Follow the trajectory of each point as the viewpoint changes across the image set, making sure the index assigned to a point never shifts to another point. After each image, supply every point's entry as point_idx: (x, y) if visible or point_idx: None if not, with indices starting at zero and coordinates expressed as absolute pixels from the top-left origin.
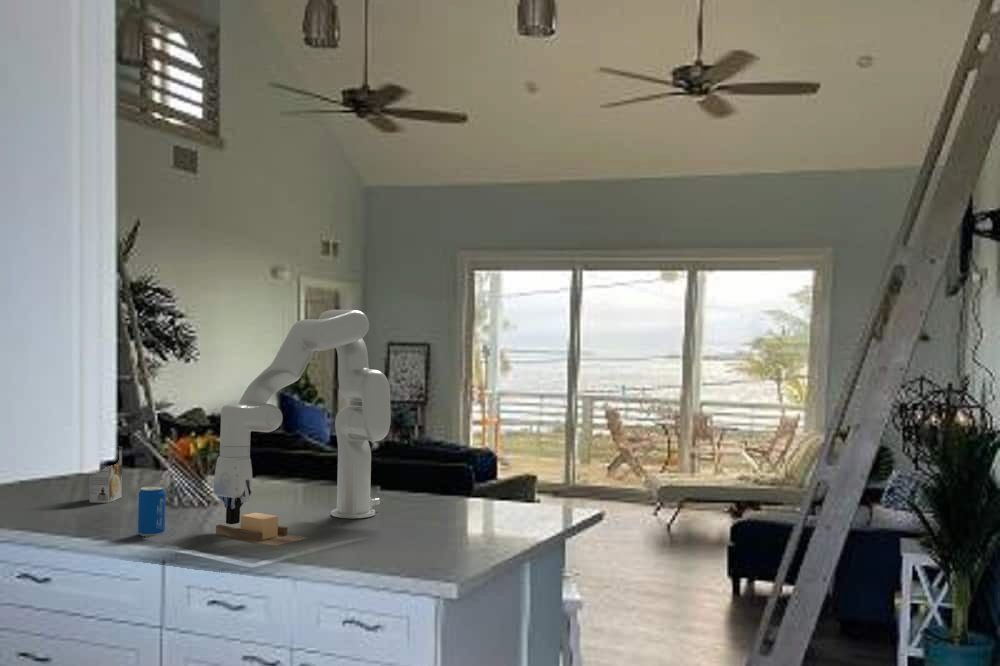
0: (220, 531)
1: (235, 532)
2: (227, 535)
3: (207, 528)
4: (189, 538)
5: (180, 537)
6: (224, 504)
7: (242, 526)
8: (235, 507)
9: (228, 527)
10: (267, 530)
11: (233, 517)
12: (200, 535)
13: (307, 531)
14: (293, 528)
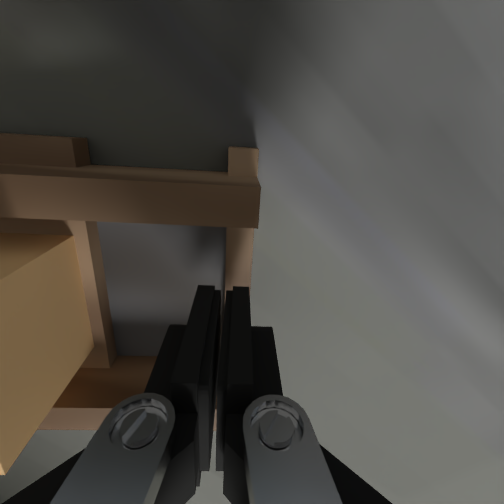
0: (204, 178)
1: (8, 169)
2: (126, 170)
3: (466, 312)
4: (393, 22)
5: (480, 4)
6: (313, 436)
7: (8, 260)
8: (111, 432)
9: (99, 188)
10: None
11: (179, 338)
12: (385, 155)
13: None
14: None
